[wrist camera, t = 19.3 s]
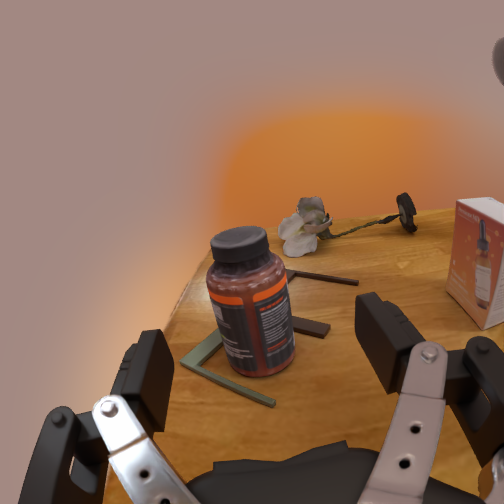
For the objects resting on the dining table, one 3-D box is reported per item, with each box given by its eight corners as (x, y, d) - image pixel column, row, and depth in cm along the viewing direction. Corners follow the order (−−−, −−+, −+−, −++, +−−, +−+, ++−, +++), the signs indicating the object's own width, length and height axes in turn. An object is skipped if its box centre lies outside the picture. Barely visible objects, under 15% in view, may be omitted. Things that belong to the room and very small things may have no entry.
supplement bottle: (303, 338, 26) (292, 219, 22) (283, 386, 21) (263, 253, 17) (244, 331, 29) (221, 221, 24) (216, 372, 24) (179, 251, 19)
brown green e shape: (285, 272, 39) (284, 268, 39) (358, 283, 33) (358, 280, 33) (180, 364, 25) (178, 360, 25) (272, 408, 19) (272, 404, 19)
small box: (444, 291, 28) (453, 198, 24) (478, 281, 27) (489, 195, 23) (482, 332, 20) (506, 225, 16) (517, 317, 20) (540, 219, 16)
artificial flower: (424, 248, 41) (428, 192, 35) (286, 279, 45) (270, 226, 39) (404, 216, 47) (403, 165, 41) (283, 243, 52) (268, 194, 46)
